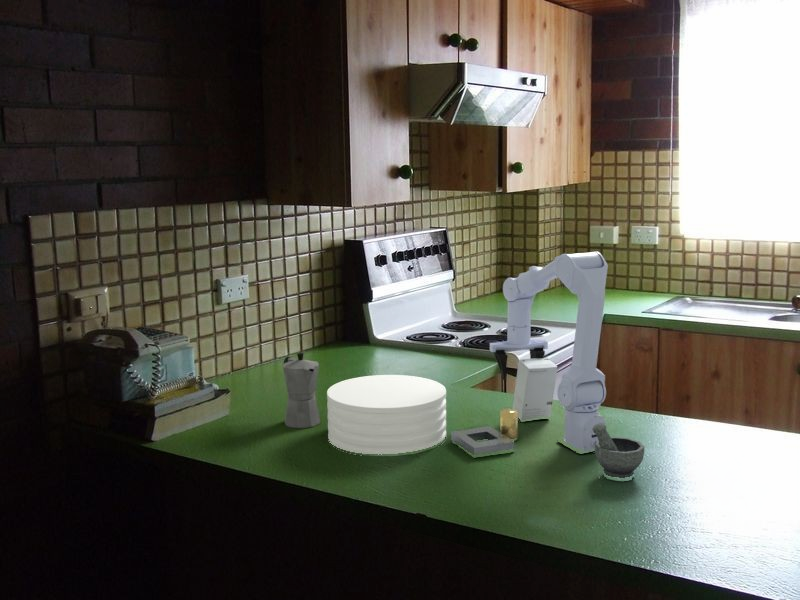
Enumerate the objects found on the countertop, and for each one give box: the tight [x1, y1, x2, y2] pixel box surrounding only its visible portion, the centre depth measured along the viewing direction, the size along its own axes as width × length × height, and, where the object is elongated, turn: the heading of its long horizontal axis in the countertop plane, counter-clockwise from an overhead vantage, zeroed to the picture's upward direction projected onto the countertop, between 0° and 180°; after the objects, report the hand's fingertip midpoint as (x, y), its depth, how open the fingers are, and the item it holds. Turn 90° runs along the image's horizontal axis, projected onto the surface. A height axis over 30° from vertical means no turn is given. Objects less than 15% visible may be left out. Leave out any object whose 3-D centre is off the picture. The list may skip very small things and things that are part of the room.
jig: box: [450, 425, 515, 455], centre depth 197 cm, size 12×10×2 cm
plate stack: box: [326, 374, 447, 455], centre depth 205 cm, size 28×28×12 cm
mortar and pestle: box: [592, 423, 645, 478], centre depth 178 cm, size 11×9×12 cm
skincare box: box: [512, 357, 558, 420], centre depth 215 cm, size 8×6×15 cm
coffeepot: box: [282, 352, 321, 429], centre depth 216 cm, size 15×9×18 cm, turn 33°
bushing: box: [499, 408, 519, 439], centre depth 201 cm, size 4×4×7 cm
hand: (518, 378), depth 218 cm, fingers open, 7 cm apart
